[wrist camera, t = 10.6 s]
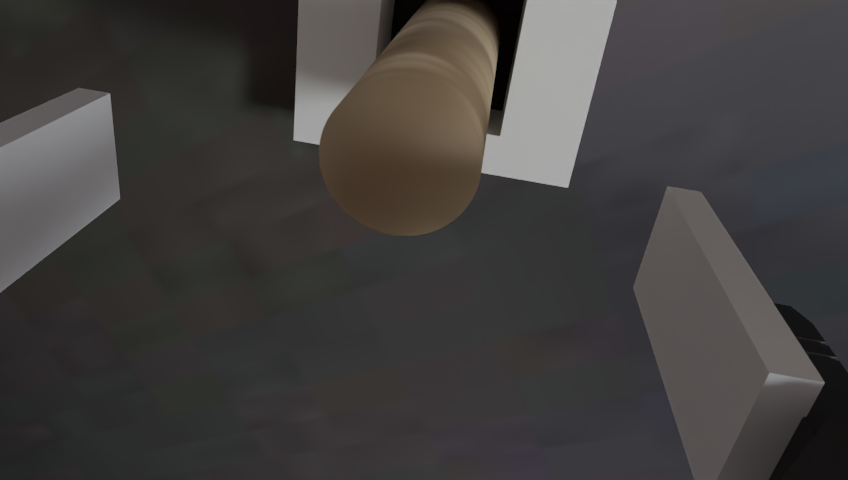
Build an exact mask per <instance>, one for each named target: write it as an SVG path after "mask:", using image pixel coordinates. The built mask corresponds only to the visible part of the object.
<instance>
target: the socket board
mask: <svg viewBox="0 0 848 480" xmlns="http://www.w3.org/2000/svg"><path fill="white" fill-rule="evenodd" d="M616 3H617V0H524V2H523V7H522V13H521V18H520V23H519V28H518V33H517V38H516V43H515V48H514V53H513V58H512V64H511V69H510V74H509V79H508V84H507V89H506V94H505V99H504V104H503V109H502V111H500V110H494V109H490V115H489V122H488V129H487V136H486V142H485V149H484V156H483V163H482V170H481V173H485V174H491V175H497V176H503V177H509V178H514V179H520V180H526V181H532V182H537V183H543V184H549V185H555V186H560V187H566V188H568V185H569V182H570V178H571V174H572V170H573V166H574V163H575V159H576V155H577V151H578V147H579V144H580V140H581V136H582V132H583V128H584V125H585V121H586V117H587V113H588V109H589V106H590V102H591V98H592V94H593V90H594V87H595V83H596V79H597V75H598V71H599V68H600V64H601V60H602V56H603V52H604V49H605V45H606V41H607V37H608V33H609V29H610V26H611V22H612V18H613V14H614V10H615V7H616ZM394 4H395V0H299V3H298V31H297V60H296V88H295V116H294V140H295V141H301V142H307V143H312V144H318V145H320V139H321V135H322V131H323V128H324V126H325V124H326V121H327V120H328V118H329V116H330V115H331V113H332V112H333V110H334V109H335V108H336V107H337V106H338V104H339V103H340V102H341V101H342V100H343V98H344V97H345V96H346V95H347V94H348V92H349V91H350V90H351V89H352V88H353V87H354V85H355V84H356V83H357V82H358V81H359V79H360V78H361V77H362V76H363V75H364V73H365V72H366V71H367V70H368V69H369V67H370V66H371V65H372V64H373V63H374V61H375V60H376V59H377V58H378V57H379V55H380V54H381V53H382V52H383V51H384V50H385V48H386V47H387V46H388V45H389V44H390V42H391V33H392V24H393V14H394Z"/></svg>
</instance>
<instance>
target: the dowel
mask: <svg viewBox="0 0 848 480" xmlns="http://www.w3.org/2000/svg"><path fill="white" fill-rule="evenodd" d="M499 45H500V28H499V24H498V20H497V18H496V16H495V14H494V12H493V10H492V9H491V8H490V6H489V5H488V4H487V3H486V2H485V1H484V0H426V1H425V2H424V3H423V4H422V5H421V7H420V8H419V9H418V10H417V11H416V13H415V14H414V15H413V16H412V17H411V18H410V20H409V21H408V22H407V23H406V24H405V26H404V27H403V28H402V29H401V30H400V32H399V33H398V34H397V35H396V36H395V38H394V39H393V40H392V41H391V42H390V44H389V45H388V46H387V47H386V48H385V50H384V51H383V52H382V53H381V54H380V55H379V57H378V58H377V59H376V60H375V61H374V63H373V64H372V65H371V66H370V67H369V69H368V70H367V71H366V72H365V73H364V75H363V76H362V77H361V78H360V79H359V81H358V82H357V83H356V84H355V85H354V87H353V88H352V89H351V90H350V91H349V92H348V94H347V95H346V96H345V97H344V98H343V100H342V101H341V102H340V103H339V104H338V106H337V107H336V108H335V109H334V110H333V112H332V113H331V115H330V116H329V118H328V120H327V121H326V124H325V126H324V128H323V131H322V135H321V139H320V145H319V162H320V168H321V172H322V176H323V179H324V181H325V184H326V186H327V188H328V190H329V192H330V193H331V195H332V197H333V198H334V200H335V201H336V202H337V203H338V205H339V206H340V207H341V208H342V209H343V210H344V211H345V212H346V213H347V214H348V215H350V216H351V217H352V218H353V219H355V220H356V221H358V222H359V223H361V224H363V225H365V226H367V227H369V228H371V229H373V230H376V231H379V232H382V233H386V234H390V235H398V236H414V235H422V234H426V233H430V232H433V231H435V230H438V229H440V228H442V227H444V226H446V225H448V224H449V223H451V222H452V221H453V220H455V219H456V218H457V217H458V216H459V215H460V214H461V213H462V212H463V211H464V210H465V209H466V208H467V206H468V205H469V204H470V202H471V200H472V199H473V197H474V195H475V193H476V190H477V188H478V185H479V181H480V177H481V170H482V163H483V156H484V149H485V142H486V136H487V129H488V122H489V115H490V108H491V101H492V94H493V87H494V80H495V73H496V66H497V59H498V52H499Z"/></svg>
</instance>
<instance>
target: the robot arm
mask: <svg viewBox="0 0 848 480" xmlns="http://www.w3.org/2000/svg"><path fill="white" fill-rule="evenodd" d="M119 199H120V191H119V181H118V171H117V160H116V150H115V140H114V130H113V119H112V109H111V99H110V93H106V92H100V91H94V90H88V89H82V88H77V89H75V90H73V91H71V92H68V93H66V94H64V95H62V96H60V97H57V98H55V99H53V100H51V101H48V102H46V103H44V104H42V105H39V106H37V107H35V108H33V109H30V110H28V111H26V112H24V113H21V114H19V115H17V116H15V117H13V118H10V119H8V120H6V121H4V122H1V123H0V292H1V291H3V290H4V289H5V288H7V287H8V286H9V285H10V284H12V283H13V282H14V281H16V280H17V279H18V278H19V277H21V276H22V275H23V274H24V273H26V272H27V271H28V270H30V269H31V268H32V267H33V266H35V265H36V264H37V263H39V262H40V261H41V260H42V259H44V258H45V257H46V256H48V255H49V254H50V253H51V252H53V251H54V250H55V249H57V248H58V247H59V246H60V245H62V244H63V243H64V242H65V241H67V240H68V239H69V238H71V237H72V236H73V235H74V234H76V233H77V232H78V231H80V230H81V229H82V228H83V227H85V226H86V225H87V224H89V223H90V222H91V221H92V220H94V219H95V218H96V217H98V216H99V215H100V214H101V213H103V212H104V211H105V210H107V209H108V208H109V207H110V206H112V205H113V204H114V203H115V202H117V201H118V200H119ZM633 289H634V292H635V295H636V298H637V301H638V305H639V308H640V311H641V314H642V317H643V320H644V323H645V327H646V330H647V333H648V336H649V339H650V342H651V345H652V349H653V352H654V355H655V358H656V361H657V364H658V367H659V371H660V374H661V377H662V380H663V383H664V386H665V389H666V393H667V396H668V399H669V402H670V405H671V408H672V411H673V415H674V418H675V421H676V424H677V427H678V430H679V433H680V437H681V440H682V443H683V446H684V449H685V452H686V455H687V459H688V462H689V465H690V468H691V471H692V474H693V477H694V480H848V373H847V371H846V370H845V368H844V367H843V366H842V364H841V363H840V361H836V356H835V354H834V353H833V352H832V350H831V349H830V347H829V346H827V345H825V343H826V342H825V340H824V339H823V338H822V336H821V335H820V333H819V332H818V331H817V329H816V328H815V326H814V325H813V324H812V323H811V322H810V321H809V320H807V319H806V318H805V317H803V316H802V315H801V314H800V313H798V312H797V311H796V310H795V309H793V308H792V307H791V306H787V305H781V304H775V303H773V302H772V300H771V299H770V297H769V296H768V294H767V293H766V291H765V289H764V288H763V286H762V285H761V283H760V282H759V280H758V279H757V277H756V276H755V274H754V273H753V271H752V269H751V268H750V266H749V265H748V263H747V262H746V260H745V259H744V257H743V256H742V254H741V253H740V251H739V249H738V248H737V246H736V245H735V243H734V242H733V240H732V239H731V237H730V236H729V234H728V233H727V231H726V229H725V228H724V226H723V225H722V223H721V222H720V220H719V219H718V217H717V216H716V214H715V213H714V211H713V209H712V208H711V206H710V205H709V203H708V202H707V200H706V199H705V197H704V196H703V194H702V193H701V192H699V191H693V190H687V189H681V188H675V187H669V186H667V189H666V192H665V195H664V198H663V201H662V204H661V207H660V210H659V213H658V216H657V218H656V221H655V224H654V227H653V230H652V233H651V236H650V239H649V242H648V245H647V248H646V251H645V254H644V257H643V260H642V263H641V266H640V269H639V272H638V275H637V278H636V281H635V284H634V286H633Z"/></svg>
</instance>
